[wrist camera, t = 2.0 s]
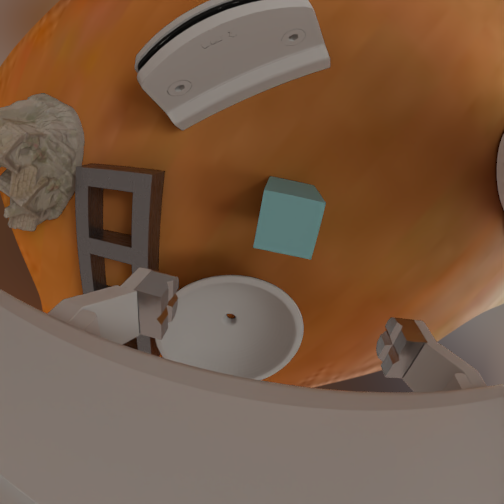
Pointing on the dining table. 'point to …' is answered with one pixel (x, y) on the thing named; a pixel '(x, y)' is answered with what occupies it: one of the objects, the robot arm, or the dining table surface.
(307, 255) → the square peg
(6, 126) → the ceramic cottage
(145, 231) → the grey slotted board
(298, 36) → the white arch segment
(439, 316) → the dining table surface
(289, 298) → the dish
